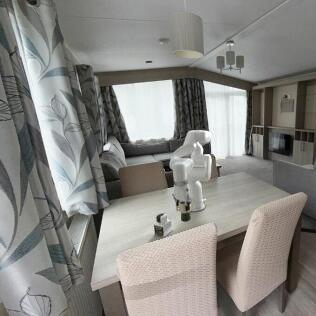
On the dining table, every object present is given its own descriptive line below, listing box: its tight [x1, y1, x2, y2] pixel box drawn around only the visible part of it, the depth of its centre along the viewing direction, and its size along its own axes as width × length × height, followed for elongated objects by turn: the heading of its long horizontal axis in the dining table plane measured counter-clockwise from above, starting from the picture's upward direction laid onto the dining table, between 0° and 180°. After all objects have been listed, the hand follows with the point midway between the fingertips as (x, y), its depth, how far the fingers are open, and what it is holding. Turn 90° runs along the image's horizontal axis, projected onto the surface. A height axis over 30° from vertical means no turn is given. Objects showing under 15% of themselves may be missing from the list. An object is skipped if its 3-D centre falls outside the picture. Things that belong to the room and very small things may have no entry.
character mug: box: [175, 200, 193, 223], centre depth 124 cm, size 11×7×13 cm, turn 122°
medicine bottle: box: [153, 212, 173, 238], centre depth 119 cm, size 7×7×12 cm
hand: (183, 208), depth 122 cm, fingers closed on character mug, 7 cm apart
